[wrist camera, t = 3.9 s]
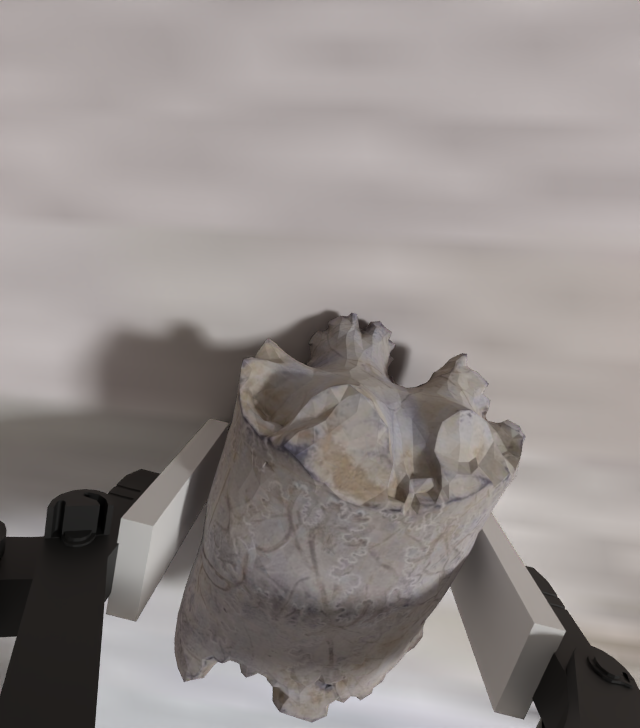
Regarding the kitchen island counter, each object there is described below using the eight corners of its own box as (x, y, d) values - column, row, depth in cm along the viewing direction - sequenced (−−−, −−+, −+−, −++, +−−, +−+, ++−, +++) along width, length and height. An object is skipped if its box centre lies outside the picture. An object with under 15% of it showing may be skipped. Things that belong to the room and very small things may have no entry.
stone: (204, 558, 18) (124, 736, 11) (284, 290, 15) (243, 307, 8) (379, 611, 18) (406, 816, 11) (489, 358, 15) (610, 427, 9)
